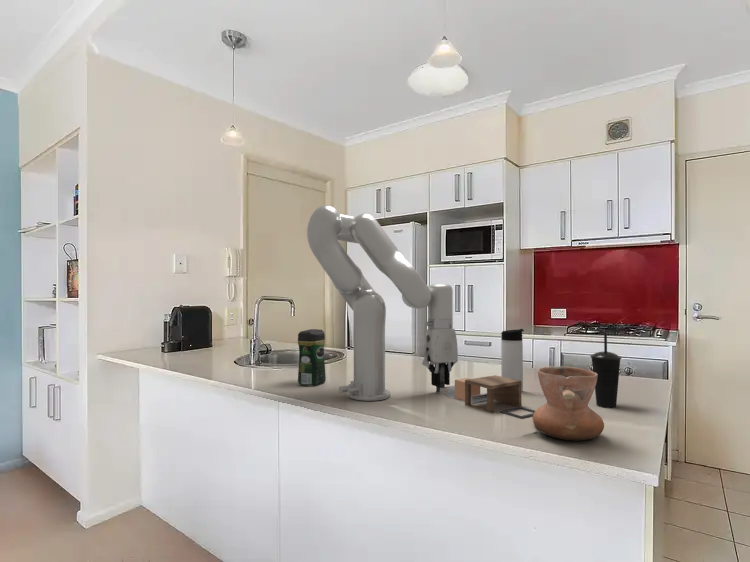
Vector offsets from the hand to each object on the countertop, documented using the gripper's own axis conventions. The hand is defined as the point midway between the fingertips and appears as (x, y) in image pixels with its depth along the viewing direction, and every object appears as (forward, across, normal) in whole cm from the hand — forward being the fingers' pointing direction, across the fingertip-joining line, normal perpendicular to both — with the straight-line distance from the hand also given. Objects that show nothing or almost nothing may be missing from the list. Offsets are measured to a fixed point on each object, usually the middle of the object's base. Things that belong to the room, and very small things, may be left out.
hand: (440, 384), depth 137 cm
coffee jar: (+3, -26, +36) cm, 45 cm away
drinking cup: (+3, +30, -34) cm, 46 cm away
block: (+2, 0, -12) cm, 12 cm away
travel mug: (+3, +19, -12) cm, 22 cm away
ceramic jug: (+3, -1, -44) cm, 44 cm away
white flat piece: (+3, 0, -8) cm, 8 cm away
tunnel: (+3, 0, -21) cm, 21 cm away
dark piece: (+3, 0, -30) cm, 30 cm away
